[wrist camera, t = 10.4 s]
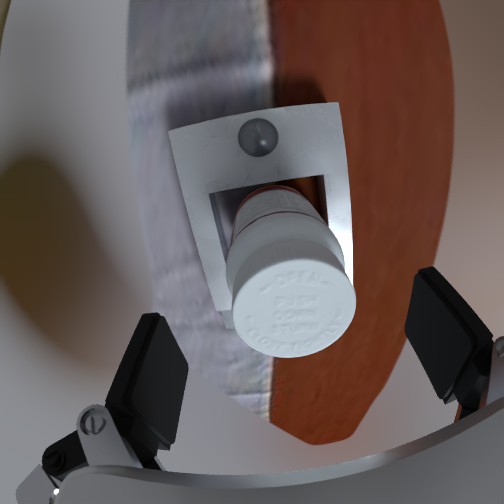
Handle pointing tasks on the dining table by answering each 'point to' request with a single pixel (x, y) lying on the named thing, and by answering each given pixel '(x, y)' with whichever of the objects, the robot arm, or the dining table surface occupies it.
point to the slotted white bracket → (260, 174)
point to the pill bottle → (286, 275)
